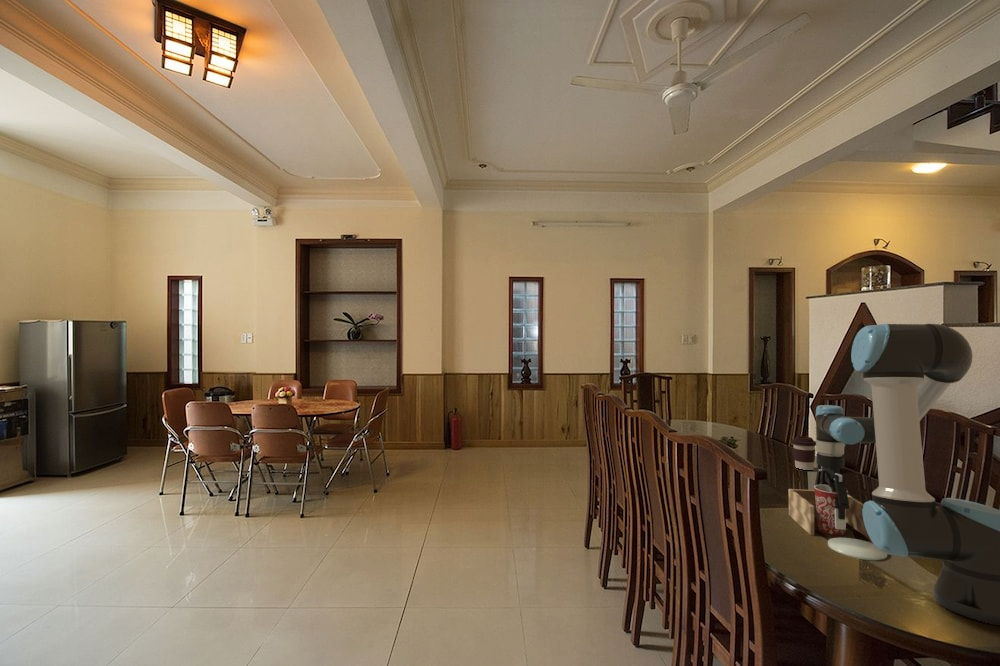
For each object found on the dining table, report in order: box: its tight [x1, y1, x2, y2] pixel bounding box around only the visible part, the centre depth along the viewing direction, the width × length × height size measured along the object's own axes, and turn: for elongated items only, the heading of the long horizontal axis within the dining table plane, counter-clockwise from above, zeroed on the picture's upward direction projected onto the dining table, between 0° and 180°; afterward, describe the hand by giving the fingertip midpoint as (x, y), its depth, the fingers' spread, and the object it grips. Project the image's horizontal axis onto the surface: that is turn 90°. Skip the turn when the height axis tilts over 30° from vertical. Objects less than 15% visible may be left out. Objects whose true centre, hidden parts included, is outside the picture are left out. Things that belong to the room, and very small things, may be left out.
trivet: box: [827, 537, 888, 562], centre depth 144 cm, size 14×14×1 cm
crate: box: [788, 488, 871, 540], centre depth 162 cm, size 18×17×9 cm
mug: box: [813, 484, 849, 536], centre depth 160 cm, size 13×9×14 cm
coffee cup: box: [791, 435, 816, 471], centre depth 234 cm, size 10×10×15 cm
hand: (831, 521), depth 160 cm, fingers closed on mug, 12 cm apart
